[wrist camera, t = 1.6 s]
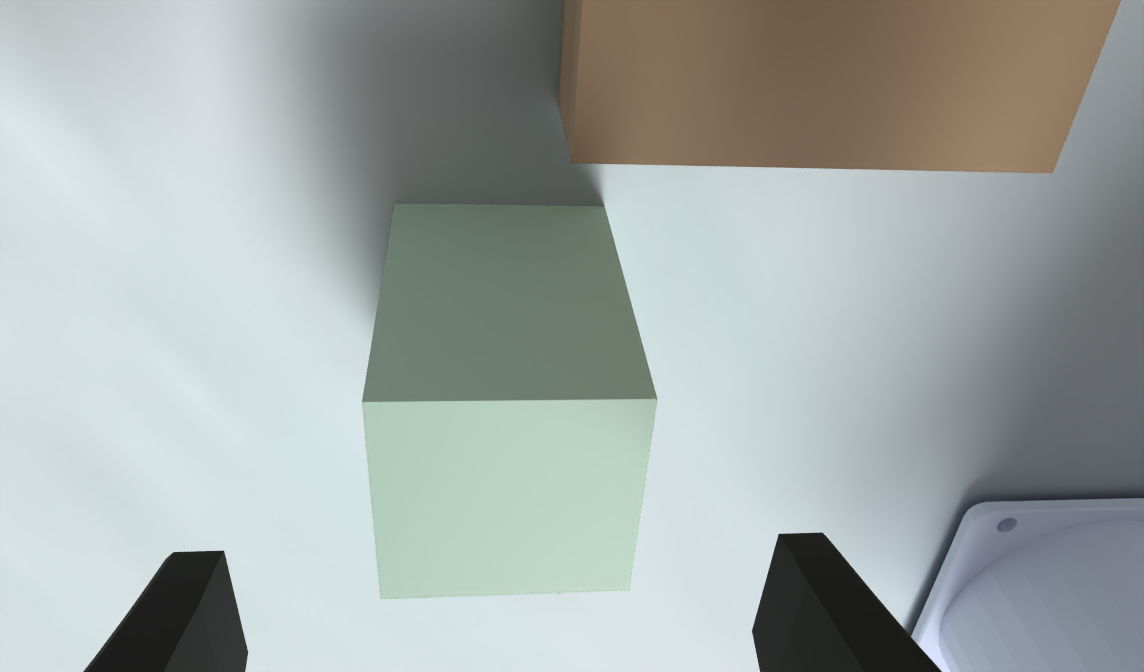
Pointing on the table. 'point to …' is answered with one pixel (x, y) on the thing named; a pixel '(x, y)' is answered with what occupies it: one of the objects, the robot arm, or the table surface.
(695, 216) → the table surface
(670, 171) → the table surface
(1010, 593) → the robot arm
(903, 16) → the walnut plinth
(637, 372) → the green block
